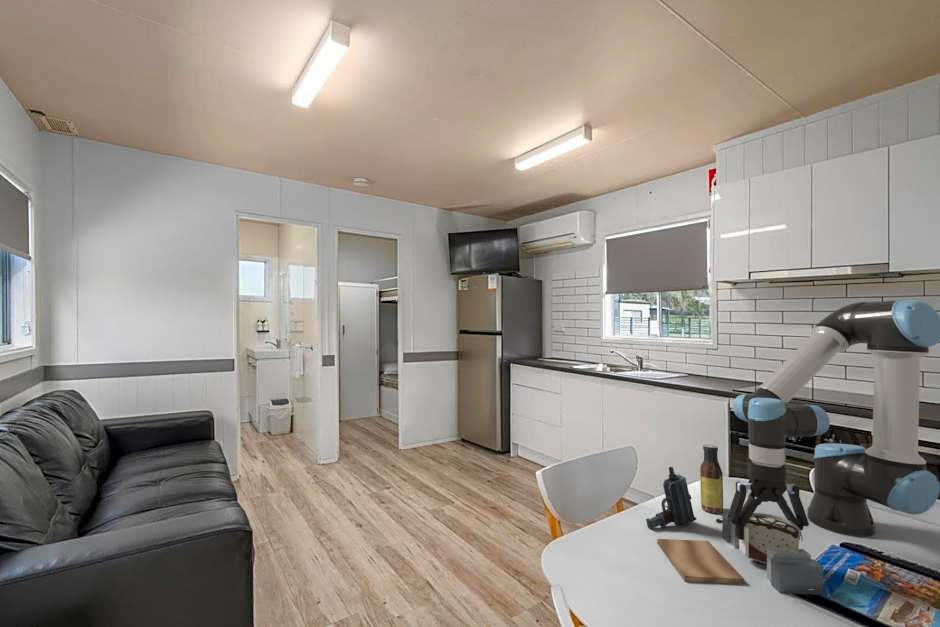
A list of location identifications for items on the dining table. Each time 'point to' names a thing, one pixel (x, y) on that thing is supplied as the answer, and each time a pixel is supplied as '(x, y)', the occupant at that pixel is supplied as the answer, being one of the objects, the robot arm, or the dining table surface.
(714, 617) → the dining table surface
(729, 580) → the light brown board
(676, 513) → the gun
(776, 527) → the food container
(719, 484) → the sauce bottle
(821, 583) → the grey blocks
